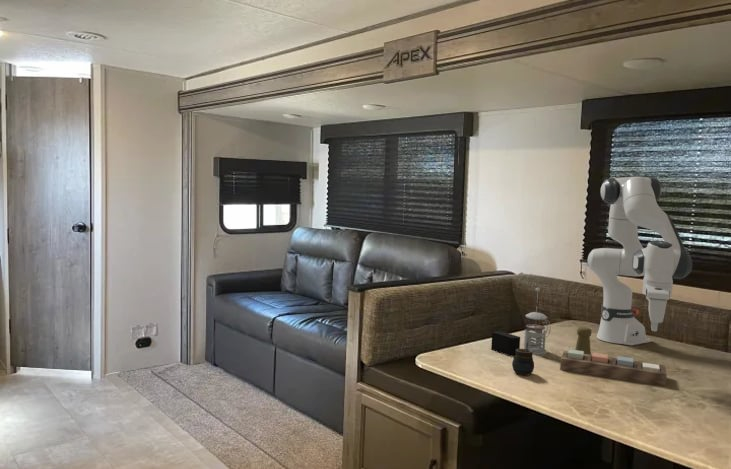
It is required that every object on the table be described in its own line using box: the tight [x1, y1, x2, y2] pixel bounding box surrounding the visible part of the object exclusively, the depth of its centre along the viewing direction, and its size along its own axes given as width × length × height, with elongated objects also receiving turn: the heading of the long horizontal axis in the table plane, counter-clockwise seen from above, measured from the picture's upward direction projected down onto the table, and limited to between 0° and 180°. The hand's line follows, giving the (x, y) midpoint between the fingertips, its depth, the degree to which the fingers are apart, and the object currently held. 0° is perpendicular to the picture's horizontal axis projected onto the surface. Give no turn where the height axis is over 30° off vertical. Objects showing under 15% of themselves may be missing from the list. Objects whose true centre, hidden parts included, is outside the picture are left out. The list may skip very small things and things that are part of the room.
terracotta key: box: [591, 352, 609, 363], centre depth 201 cm, size 5×5×2 cm
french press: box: [521, 287, 552, 356], centre depth 224 cm, size 10×12×25 cm
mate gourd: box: [511, 343, 535, 376], centre depth 196 cm, size 7×8×10 cm
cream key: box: [642, 362, 660, 371], centre depth 195 cm, size 5×5×2 cm
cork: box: [574, 326, 592, 355], centre depth 220 cm, size 6×6×11 cm
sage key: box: [568, 348, 584, 360], centre depth 205 cm, size 5×5×2 cm
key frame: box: [559, 350, 668, 387], centre depth 200 cm, size 33×11×4 cm, turn 66°
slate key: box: [616, 355, 634, 367], centre depth 198 cm, size 5×5×2 cm
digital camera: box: [490, 330, 521, 357], centre depth 222 cm, size 10×5×7 cm, turn 36°
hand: (653, 330), depth 194 cm, fingers closed
